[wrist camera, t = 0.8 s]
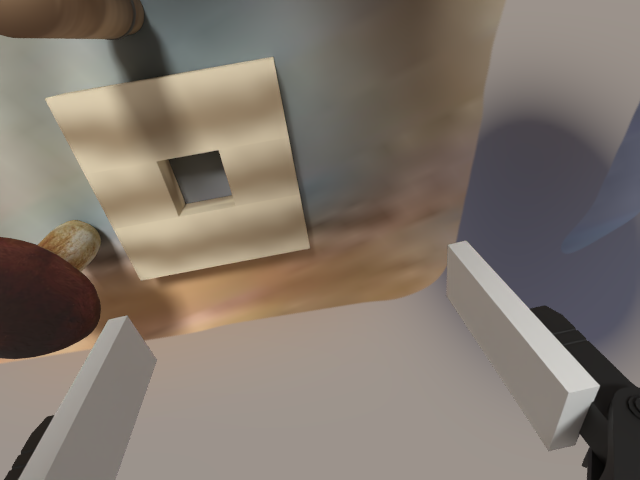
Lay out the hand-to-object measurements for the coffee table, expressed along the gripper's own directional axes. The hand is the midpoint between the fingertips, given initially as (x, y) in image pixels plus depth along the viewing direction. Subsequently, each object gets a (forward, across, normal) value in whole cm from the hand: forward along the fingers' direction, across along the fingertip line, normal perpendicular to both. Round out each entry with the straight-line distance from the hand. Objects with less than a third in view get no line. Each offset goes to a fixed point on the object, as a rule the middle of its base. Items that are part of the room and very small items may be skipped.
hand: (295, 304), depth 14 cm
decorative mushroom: (+23, -22, -4) cm, 32 cm away
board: (+23, -8, -1) cm, 24 cm away
